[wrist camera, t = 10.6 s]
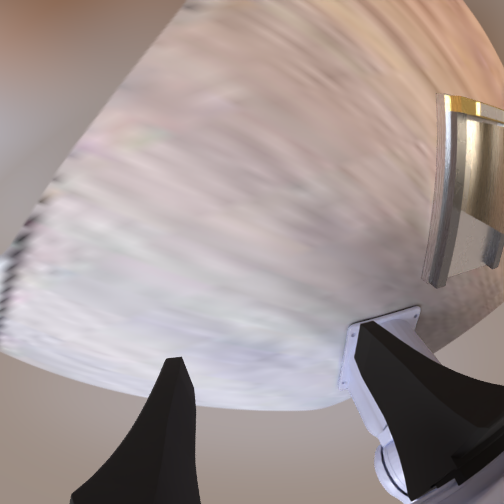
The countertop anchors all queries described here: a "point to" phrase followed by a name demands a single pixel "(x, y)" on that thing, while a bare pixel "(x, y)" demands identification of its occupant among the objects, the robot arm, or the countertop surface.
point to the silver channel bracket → (458, 195)
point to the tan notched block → (487, 175)
